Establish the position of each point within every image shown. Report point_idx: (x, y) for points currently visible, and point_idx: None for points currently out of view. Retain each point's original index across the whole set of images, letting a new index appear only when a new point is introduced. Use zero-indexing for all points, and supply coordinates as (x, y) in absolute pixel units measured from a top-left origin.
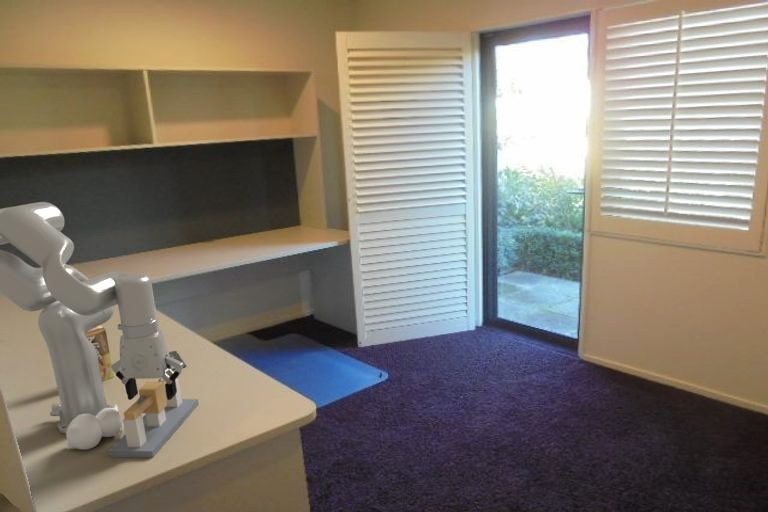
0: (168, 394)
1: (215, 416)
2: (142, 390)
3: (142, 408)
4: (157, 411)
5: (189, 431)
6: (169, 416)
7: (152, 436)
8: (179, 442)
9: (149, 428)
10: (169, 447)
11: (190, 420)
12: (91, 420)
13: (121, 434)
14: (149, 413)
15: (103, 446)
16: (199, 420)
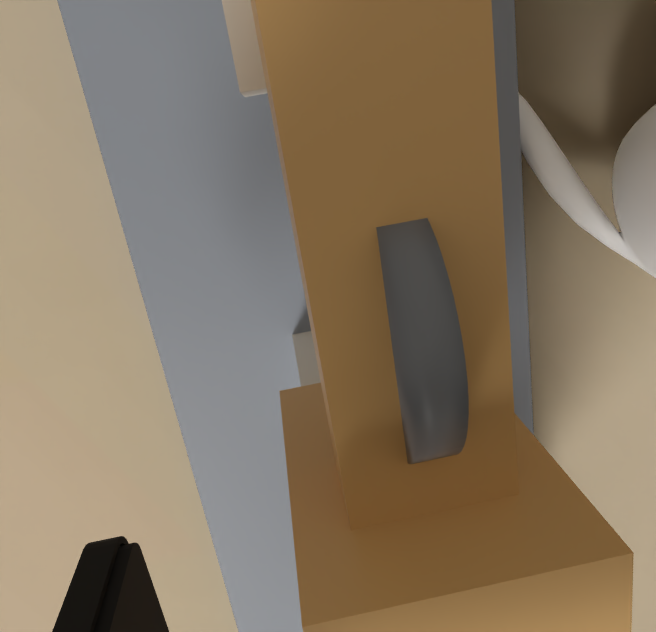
0: (67, 606)
1: (10, 583)
2: (552, 559)
3: (286, 184)
4: (293, 398)
5: (53, 374)
6: None
7: (239, 175)
8: (7, 216)
9: None
10: (35, 127)
11: (167, 498)
12: None
13: (559, 153)
14: None
15: (640, 27)
16: (95, 514)
